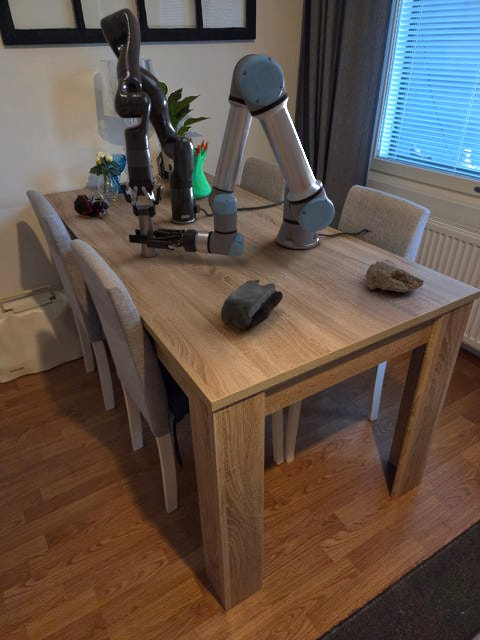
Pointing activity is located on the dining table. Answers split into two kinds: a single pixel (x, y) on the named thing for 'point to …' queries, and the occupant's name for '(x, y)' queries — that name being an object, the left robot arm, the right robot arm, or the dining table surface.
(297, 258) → the dining table surface
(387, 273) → the artifact
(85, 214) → the toy
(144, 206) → the lid
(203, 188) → the toy
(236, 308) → the dark grey soft lump
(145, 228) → the brown long cylinder
